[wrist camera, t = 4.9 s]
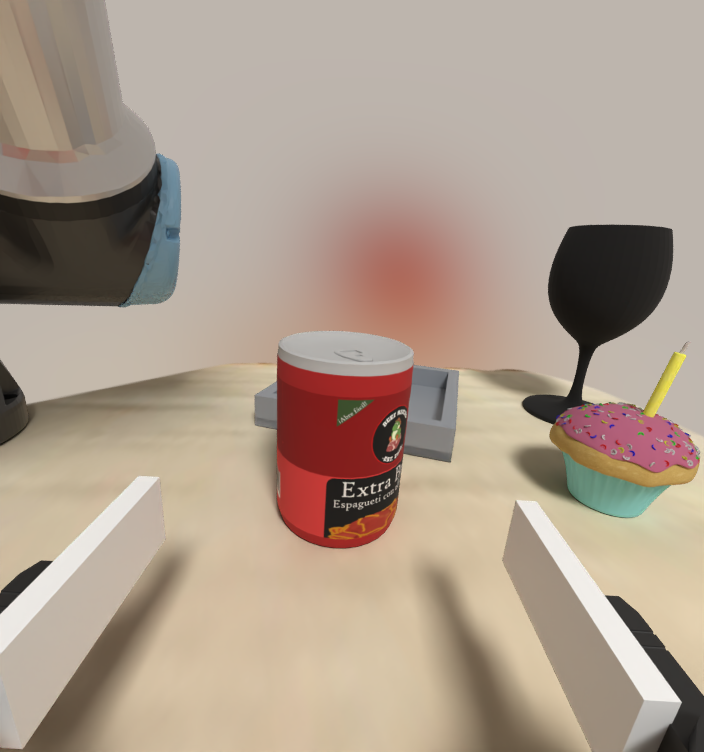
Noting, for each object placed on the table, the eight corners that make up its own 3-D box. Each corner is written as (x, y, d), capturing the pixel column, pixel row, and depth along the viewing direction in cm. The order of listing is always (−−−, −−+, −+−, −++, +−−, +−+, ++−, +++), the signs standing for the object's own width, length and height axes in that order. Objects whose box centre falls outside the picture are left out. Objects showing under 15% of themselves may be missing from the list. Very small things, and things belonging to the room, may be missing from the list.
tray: (255, 425, 36) (254, 395, 35) (321, 373, 53) (322, 352, 52) (450, 462, 32) (455, 429, 31) (455, 393, 48) (458, 370, 47)
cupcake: (639, 477, 31) (687, 333, 28) (708, 551, 23) (788, 362, 20) (528, 460, 33) (559, 321, 29) (557, 524, 25) (606, 344, 21)
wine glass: (580, 439, 38) (638, 221, 32) (503, 401, 47) (537, 226, 41) (646, 427, 42) (709, 231, 36) (563, 394, 51) (602, 234, 45)
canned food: (339, 575, 20) (352, 373, 16) (251, 504, 25) (248, 338, 22) (420, 511, 25) (442, 349, 22) (334, 463, 30) (342, 326, 27)
